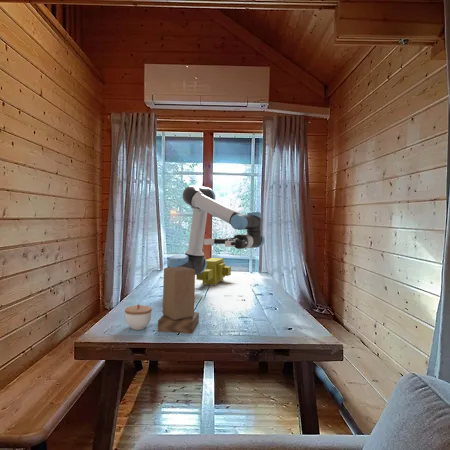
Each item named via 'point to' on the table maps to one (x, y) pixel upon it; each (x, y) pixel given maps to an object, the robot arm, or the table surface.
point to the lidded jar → (138, 316)
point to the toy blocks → (214, 271)
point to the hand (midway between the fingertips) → (214, 242)
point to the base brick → (178, 324)
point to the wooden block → (178, 292)
